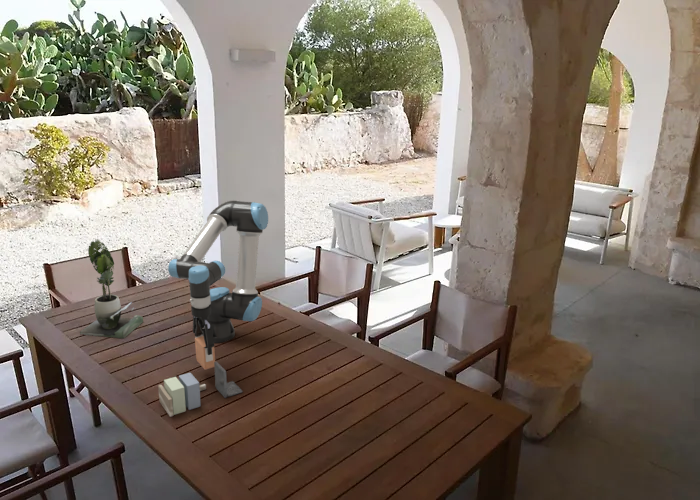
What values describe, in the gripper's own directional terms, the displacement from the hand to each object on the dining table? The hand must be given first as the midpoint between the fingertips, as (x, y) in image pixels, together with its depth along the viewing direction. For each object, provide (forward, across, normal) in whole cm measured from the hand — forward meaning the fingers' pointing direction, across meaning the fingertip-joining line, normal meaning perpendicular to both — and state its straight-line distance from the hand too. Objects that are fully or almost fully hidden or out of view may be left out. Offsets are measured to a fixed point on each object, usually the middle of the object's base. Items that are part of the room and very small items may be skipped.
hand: (204, 355), depth 232 cm
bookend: (+9, +15, +4) cm, 18 cm away
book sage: (+9, +15, -18) cm, 25 cm away
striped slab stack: (+9, +14, -13) cm, 21 cm away
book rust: (+4, 0, 0) cm, 4 cm away
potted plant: (+11, -67, -20) cm, 71 cm away
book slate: (+9, +15, -12) cm, 21 cm away
